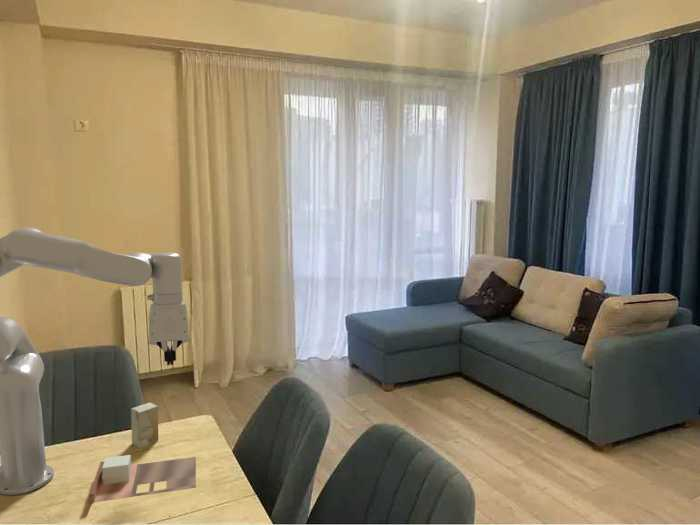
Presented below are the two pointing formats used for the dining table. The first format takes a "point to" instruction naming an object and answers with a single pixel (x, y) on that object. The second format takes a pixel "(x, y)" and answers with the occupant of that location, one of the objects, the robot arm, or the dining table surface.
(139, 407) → the skincare box
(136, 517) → the dining table surface
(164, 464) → the track
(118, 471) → the sage block
